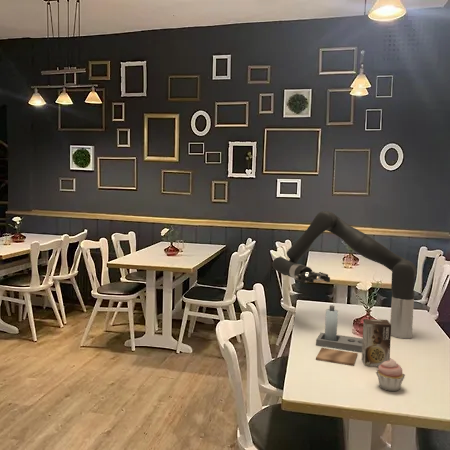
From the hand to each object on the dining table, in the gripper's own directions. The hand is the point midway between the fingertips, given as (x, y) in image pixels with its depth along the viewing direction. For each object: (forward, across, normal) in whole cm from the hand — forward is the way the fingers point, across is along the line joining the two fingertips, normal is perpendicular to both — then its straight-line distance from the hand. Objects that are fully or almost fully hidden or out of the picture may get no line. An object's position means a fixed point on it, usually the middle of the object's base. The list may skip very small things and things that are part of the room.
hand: (321, 280), depth 208 cm
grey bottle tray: (+15, +2, +24) cm, 29 cm away
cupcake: (+54, -9, +24) cm, 60 cm away
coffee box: (+36, +1, +24) cm, 43 cm away
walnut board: (+26, -9, +24) cm, 36 cm away
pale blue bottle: (+12, -2, +24) cm, 27 cm away
